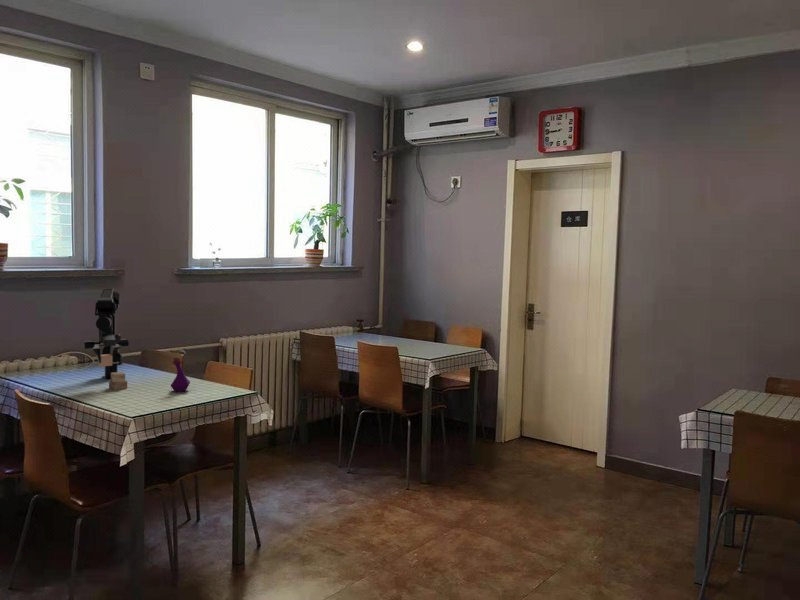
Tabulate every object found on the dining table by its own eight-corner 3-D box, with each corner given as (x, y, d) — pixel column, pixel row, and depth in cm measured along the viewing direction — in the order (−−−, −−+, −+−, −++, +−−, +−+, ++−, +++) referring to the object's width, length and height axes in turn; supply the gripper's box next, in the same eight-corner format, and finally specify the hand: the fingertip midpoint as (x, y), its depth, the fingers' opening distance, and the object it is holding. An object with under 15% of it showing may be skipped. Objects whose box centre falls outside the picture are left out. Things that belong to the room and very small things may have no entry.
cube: (98, 365, 300) (98, 354, 299) (109, 364, 303) (109, 354, 302) (101, 366, 296) (101, 356, 296) (112, 365, 299) (112, 355, 299)
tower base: (109, 388, 299) (108, 380, 299) (120, 387, 304) (120, 379, 304) (115, 390, 296) (115, 382, 296) (127, 388, 300) (127, 380, 300)
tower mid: (110, 380, 300) (110, 372, 300) (122, 379, 303) (122, 371, 303) (113, 382, 296) (113, 374, 296) (125, 381, 299) (125, 373, 299)
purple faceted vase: (170, 392, 293) (170, 351, 292) (172, 389, 300) (172, 349, 299) (188, 392, 294) (188, 351, 293) (190, 389, 302) (190, 349, 301)
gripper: (88, 330, 286) (88, 367, 287) (133, 328, 298) (133, 363, 299) (80, 328, 295) (81, 363, 296) (125, 326, 307) (125, 360, 308)
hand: (105, 362), depth 299 cm, fingers closed on cube, 4 cm apart
